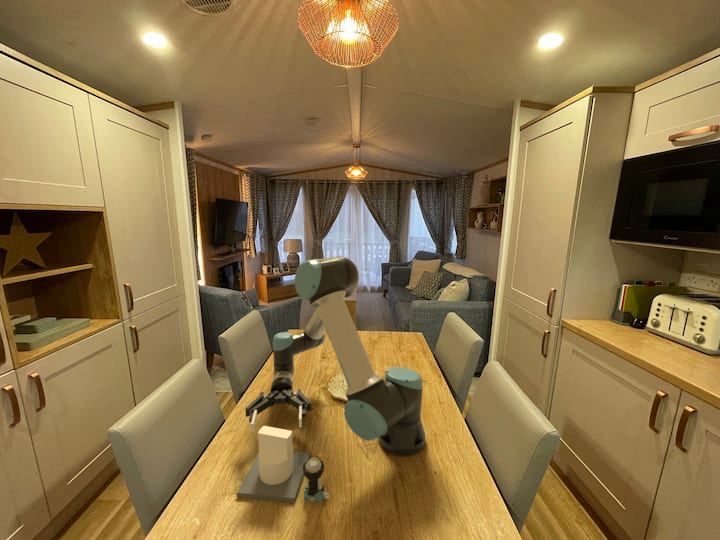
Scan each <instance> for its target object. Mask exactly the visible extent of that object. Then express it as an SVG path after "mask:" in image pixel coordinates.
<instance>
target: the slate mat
mask: <svg viewBox="0 0 720 540" xmlns="http://www.w3.org/2000/svg"><path fill="white" fill-rule="evenodd" d="M310 457H311V453H310V452H306V451H296V450H295V451H294V450H293V472H292V474H291V476H290V477H289V478H288V479H287V480H286V481H284V482H282V483H280V484H276V485H269V484H266V483H264V482H263V481H262V480H261V479H260V474H259V453H258V454H257V456H256V457H255V459H254V460H253V463H252V464H251V466H250V468H249V470H248V472H247V473H246V475H245V477H244V479H243V481H242V483H241V484H240V487H239V489H238V490H237V492H236V496H237V497H238V498H249V499H257V500H268V501H278V502H285V503H286V502H287V503H295V502H296V500H297V497H298V493H299V490H300V487H301V484H302V483H303V478H304V477H305V476H304V473H303V465H304V463H305V462H306V461H308V460H309V459H311V458H310Z"/></svg>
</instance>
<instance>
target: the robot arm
mask: <svg viewBox="0 0 720 540" xmlns="http://www.w3.org/2000/svg"><path fill="white" fill-rule="evenodd" d="M359 275H360V274H359V271H358V268H357V265H356V264H355V263H354V262H353V260H351V259H349V258H348V257H344V256H335V257H334V256H332V257H323V258H313V259H312V258H311V259H309V260H305V261H302V262H301V263H300V264H299V265H298V266H297V268H296V271H295V275H294V287H295V290H296V294H297V296H299V297H300V298H301V299H302V300H306V301H308V302H309V305H310V307H311V308H313V309H315V311H314V313H313V315H312V316H311V318H310V320H309V322H308V323H307V325H306V328H305V329H304V330H303V331H302V332H299V333H297V334H294V335H293V333H291V332H287V331H284V332H278V333H276V334H274V336H273V339H272V353H273V355H272V356H273V376H272V381H271V386H270V391H269V393H268V394H267V393H266V394H265V392H264V391H261V392H260V393H259V395H258V396H257V397H256V398H255V399H253V401H252V402H251V403H250V404H248V405H247V406H246V407H245V409H244V410H245V417H246V418H248V421H249V424H250V433H254V432H255V431H256V430H255V429H256V424H257V420H258V415H260V414H261V413H263V412H264V411H265V410H267V409H268V408H272V407H273V406H275V405H276V406H277V405H284V404H285V405H286V404H287V405H288V406H291V407H293V408H295V409H296V410H298V427H299V428H302V427H303V421H302V420H303V419H305V418H306V415H307V413H306V412H307V411H308V412H310V411H312V402H311V401H310V400H309V399H308V397H306V396H305V395H304V393H303V391H302V389H301V388H299V389H297V391H294V390H293V389H294V388H293V387H294V374H295V373H294V372H295V365H294V358H295V357H294V356H296V355H298V354H301V353H304V352H307V351H310V350H311V349H315V348H318V347H320V346H321V345H323V344H324V342H325V339H326V336H325V333H326V334H327V336H328V339H329V341H330V342H329V343H330V344H331V346H332V350H333V352H334V354H335V357H336V359H337V362H338V364H339V366H340V369H341V372H342V374H343V376H344V380H345V382H346V384H347V389H346V391H345V398H346V399H347V402H346V404H345V405H344V408H343V409H344V411H343V413H344V414H343V415H344V418H345V422H346V423H347V425H348V426H349V428H350V430H351V431H352V432H353V433H354V434H355V435H356V436H358V437H359V438H360V439H362V440H365V441H375V440H377V439H378V443H379V445H381V447H382V448H383V449H384V450H385V451H387V452H389V453H391V454H394V455H397V456H403V457H405V456H406V457H408V456H412V455H413V456H414V455H416V454H418V453H419V452H421V451H422V450H423V449H424V447H425V444H426V432H425V429H424V425H423V421H422V419H421V417H422V416H421V415H422V403H423V402H422V399H423V388H424V386H423V377H422V376H421V375H420V373H418V372H417V371H416V370H414V369H412V368H407V367H403V366H395V367H394V366H393V367H389V368H388V369H386V371H385V372H384V378H383V376H382V375H379V374H377V373H376V372H375V370H374V368H373V366H372V363H371V361H370V358H369V356H368V354H367V351H366V349H365V346H364V344H363V342H362V339H361V337H360V334H359V333H358V329H357V327H356V324H355V322H354V320H353V318H352V316H351V313H350V310H349V308H348V306H347V304H346V301H345V300H346V299H348V298H350V297H351V296H352V295H353V293H354V292H355V291H356V288H357V286H358V282H359V280H360V279H359Z"/></svg>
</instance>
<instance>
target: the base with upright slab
mask: <svg viewBox="0 0 720 540" xmlns="http://www.w3.org/2000/svg"><path fill="white" fill-rule="evenodd" d="M257 438H258V440H257V441H258V454H259V474H260V479H261V480H262V481H263V482H264V483H266V484H269V485H276V484H280V483H282V482H284V481H286V480H287V479H288V478H289V477H290V476H291V474H292V472H293V451H294V447H293V431H292V430H289V429H283V428H278V427H273V426H268V425H263V426H261V428H260V429H259V430H258V432H257Z"/></svg>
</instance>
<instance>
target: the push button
mask: <svg viewBox="0 0 720 540" xmlns="http://www.w3.org/2000/svg"><path fill="white" fill-rule="evenodd" d="M324 470H325V463H324V461H323V460H321V459H319V458H317V457H311V458H309V460H308V461H306V462H305V463H304V465H303V473H304V476H303V477H305V478H306V485H305V487H304V490H303V500H306V501H310V503H316V502H323V500H324V499H330V497H331V496H330V493H331V492H329V491H328V492H327V491H325V486H324V485H322V476H323V474H324Z"/></svg>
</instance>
